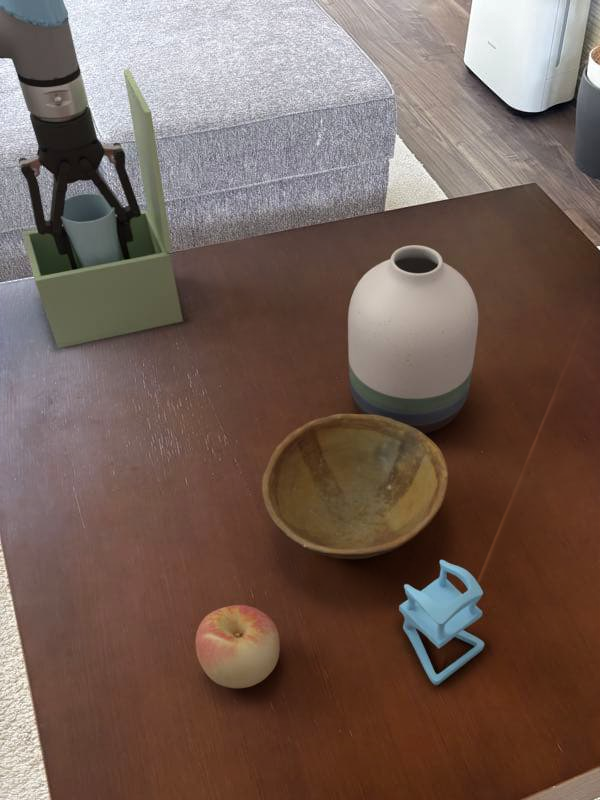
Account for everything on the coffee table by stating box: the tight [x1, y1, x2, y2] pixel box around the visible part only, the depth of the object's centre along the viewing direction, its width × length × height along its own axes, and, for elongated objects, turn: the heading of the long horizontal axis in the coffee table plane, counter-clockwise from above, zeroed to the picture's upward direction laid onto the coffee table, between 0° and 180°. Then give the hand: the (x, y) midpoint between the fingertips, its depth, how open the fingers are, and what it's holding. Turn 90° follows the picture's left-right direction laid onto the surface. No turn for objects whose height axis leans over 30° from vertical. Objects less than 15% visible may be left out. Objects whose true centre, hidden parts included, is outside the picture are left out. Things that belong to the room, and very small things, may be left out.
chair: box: [398, 559, 485, 686], centre depth 94 cm, size 8×8×12 cm
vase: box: [347, 244, 479, 435], centre depth 114 cm, size 17×17×24 cm
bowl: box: [261, 413, 449, 560], centre depth 105 cm, size 22×23×10 cm
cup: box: [61, 192, 121, 268], centre depth 125 cm, size 8×8×10 cm
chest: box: [21, 209, 184, 349], centre depth 130 cm, size 19×13×12 cm
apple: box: [195, 604, 281, 689], centre depth 93 cm, size 9×9×8 cm
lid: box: [123, 68, 173, 253], centre depth 120 cm, size 20×13×1 cm
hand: (101, 265), depth 128 cm, fingers closed on cup, 7 cm apart
